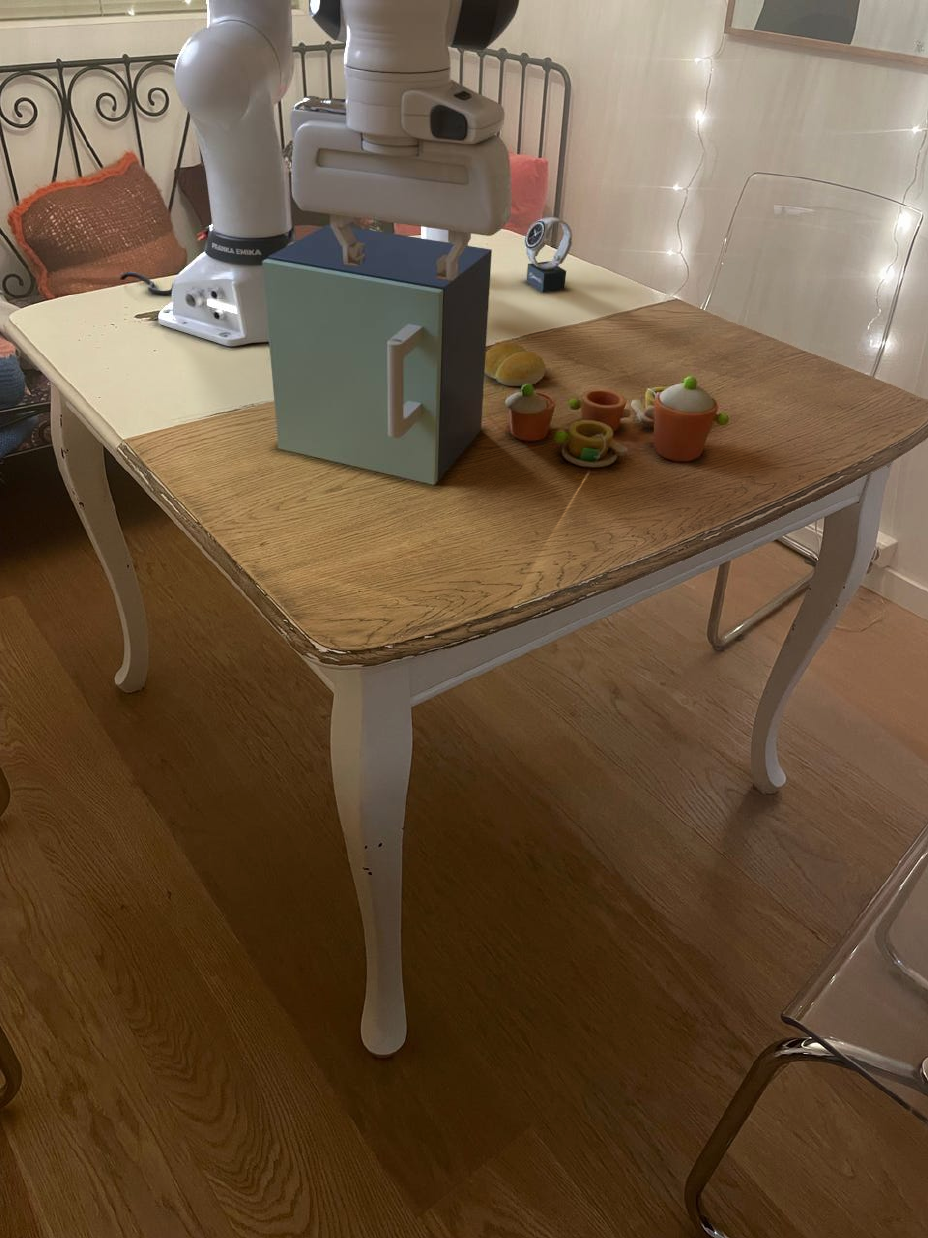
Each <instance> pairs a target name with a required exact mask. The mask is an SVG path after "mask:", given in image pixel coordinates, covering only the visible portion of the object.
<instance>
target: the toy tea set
mask: <svg viewBox="0 0 928 1238" xmlns="http://www.w3.org/2000/svg"><path fill="white" fill-rule="evenodd" d="M644 395H645V398H644V401H645V403H644V404H643V402H642V401H641V400H639V399H632V400H631V403H630V406H631V408H632V409H633V410H634V411H635V412H636V416H637V418H638V420H639V421H640V422H641V423H643V424H644V425H646V426H648V427H651V428H653V449H654V451H655V453H656V454H657V455H659V456H660V457H662V458H664V459H666V460H669V461H673V462H691V461H694V460H696V459H697V458H699V457H700V456H701V454H702V452H703V450H704V447H705V444H706V442H707V439H708V437H709V434H710V432H711V429H712V426H713V424H714V422H716V424H717V425H718V426H722V427H723V426H725V425H728V423H729V421H730V416H729V415H728V414H727V413H726V412H720V413H718V410H719V405H718V401H717V400H716V399H715V398H714V397H712V396H711V394H710V393H709V392H708V391H707V390H706V389H705V388H703V387H701V386H700V385H698V382H697V379H696V378H695V377H694V376H687V377H686V378H685V379H684V380H683V382H680V383H676V384H674V385H671V386H654V387H651V388H646V391H645V394H644ZM504 403H505V406H506V407H507V409H508V412H509V425H510V433H511V434H512V436H513V437H514V438H516V439H518V440H521V441H525V442H537V441H540V440H543V439H545V438H546V437H547V436H548V433H549V430H550V426H551V422H552V419H553V416H554V412H555V407H556V404H557V402H556V399H555V398H554V397H553V396H552V395H550V394H547V393H545V392H541V391H538V390H537V391H536V390H535V387H534V386H533V384H532V385H531V384H524V385H523V386H521V388H520V391H517V392H514V393H512V394H510V396H508V397H507V398H506V400H505V402H504ZM626 404H627V398H626V397H625V395H624V394H622V393H620V392H618V391H615V390H611V389H606V388H594V389H593V388H591V389H588V390H585V391H583V392H582V394H581V396H580V399H579V398H578V397H573V398H571V399H570V400H569V402H568V407H569V409H571V410H572V411H577V410H580V409H581V419H580V420H577V421H574V422H572V423H570V424H569V426H568V427H567V432H566V430H561V429H560V430H557V431H556V432H555V433H554V441H555V442H556V443H557V444H562V447H561V455H562V457H563V458H565V460H566V461H568V463H569V462H570V463H571V464H574V465H576V466H580V467H585V468H602V467H606V466H610V465H611V464H613V463H614V462H615V461H616V460H617V458H618V457H622V456H626V455H627V450H628V449H627V447H626V446H624V445H623V444H620V443H619V442H617V441H615V440H613V437H614V432H617V430H618V429H619V427H620V423H621V419H625V418H630V417H631V414H632V413H631V410H630V409H625V408H626Z"/></svg>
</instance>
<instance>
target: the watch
mask: <svg viewBox="0 0 928 1238" xmlns="http://www.w3.org/2000/svg"><path fill="white" fill-rule="evenodd" d="M555 223H559V224H560V225H561V226H562V229H563V237H562V239H561V241H560V243H559V244H558V245H559V246H558V248H557V249H556V251H555V253H554V255H553V259H551V260H550V261H549V260H547V261H540V262H538V261H537V259H536V258H537V256H538V255H539V253H540V251H541V250H543V248H545V246H546V245H547V244H549V242H550V241H549V240H550V236H551V231H552V229H553V227H554V225H555ZM572 241H573V232H572V229H571V227H570V225H569V224H568V223H567V222H566V221H563V220H562V219H560V218H558V217H555V216H546V217H544V218H541V219H538V220H536V221H535V222H533V223H531V225H530V227H528V230H527V231H526V233H525V236H524V246H525V252H526V256H527V258H528V260H529V262H531V263H527V268H526V269H527V270H526V280H525V281H526V284H529V285H530V286H532V287H533V288H535V289H536V290H537V291H538V290H539V292H541V293H549V292H556V291H557V292H558V291H563V290H565V286H566V277H567V270H565V269H564V268H563V267H560V265H563V262H564V261H565V259H566V258H567V256H568V255H569V253H570V250H571V247H572V244H573V242H572Z"/></svg>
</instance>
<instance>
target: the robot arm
mask: <svg viewBox="0 0 928 1238" xmlns="http://www.w3.org/2000/svg"><path fill="white" fill-rule="evenodd" d="M206 4H207V26H206V27H204V28H201V29H199V30H197V31H196V32H194V33H193V34H192V35H191V36H190V37H189V38H188V40H187V41H186V43H185V44H184V45H183V47H182V48H181V51H180V53H179V54H178V56H177V59H176V61H175V65H174V74H173V76H174V79H173V80H174V85H175V90H176V93H177V96H178V98H179V100H180V102H181V104H182V105H183V107H184V108H185V110H186V111H187V112H188V113H189V117H190V120H191V121H190V122H191V123H192V128H193V131H194V133H195V137H196V140H197V143H198V146H199V151H200V153H201V157H202V161H203V166H204V170H205V176H206V177H205V178H206V183H207V192H208V201H209V208H210V215H211V216H210V217H211V225H209V226H207V227H205V228H204V230H203V231H199V232H198V233H196V236H199V237H198V238H197V242H198V243H200V242H203V241H206V242H205V245H204V250H203V252H202V253H201V254H200V255H199V256H197V257H196V258H195V259H194V260H193V261H192V262H190V263H189V264H188V265H187V266H186V267H184V269H182V270H180V272H179V273H178V274H177V275H176V276H175V277H174V279H173V282H172V285H171V288H170V289H168V290H161V289H156V288H155V286H156V285H155V283H154V282H153V281H152V280H150V279H149V278H147V277H146V276H144V275H142V274H140V273H137V272H134V271H133V272H132V271H126V272H124V273H122V274H121V275H120V276H119V280H121V281H123V280H126V279H127V278H128V277H131V278H135V279H138V280H140V281H142V282H143V283H146V284H147V285H148V287H147V289H148V292H150V293H151V294H155V295H157V296H171V302H170V303H169V304H168V305H166V306H165V307H164V308H163V309H161V310H160V311H159V314H158V317H157V319H158V321H157V323H158V324H159V325H161V326H164V327H167V328H171V329H173V330H176V331H179V332H182V333H186V334H189V335H190V336H191V335H192V336H195V337H198V338H200V339H204V340H206V341H207V340H208V341H210V342H214V343H216V344H220V345H222V346H226V347H237V346H243V345H248V344H254V343H269V335H268V324H267V312H266V301H265V289H264V278H263V266H262V261H264V260H266V259H268V256H270V255H272V254H274V253H276V252H278V251H280V250H281V249H283V248H285V247H287V246H289V245H291V244H293V243H295V242H296V241H297V236H296V235H297V234H296V227H295V225H293V222H292V220H293V219H292V206H291V205H292V204H291V196H292V199H293V201H294V203H295V204H296V205H297V207H298V208H299V210H301V211H306V212H312V213H313V212H314V213H320V214H326V215H327V214H328V215H329V224H330V227H331V228H332V230H333V232H334V234H335V235H336V237H337V239H338V241H339V243H340V244H341V246H343V262H344V264H345V265H352V266H360V265H361V264H363V263H364V262H365V254H364V251H365V243H360V242H357V240H356V238H355V236H354V234H353V232H352V230H351V228H350V227H351V225H350V224H351V223H353V222H354V218H357V219H363V220H370V221H378V222H385V223H391V224H392V223H393V224H400V225H406V226H413V227H420V228H421V227H428V228H435V229H442V230H448V242H449V243H454V245H453V247H452V249H451V251H450V253H449V254H448V255H443V256H442V257H441V258H439V259H438V260H437V266H436V268H437V269H438V271H437V273H436V276H437V278H438V279H443V280H449V281H453V280H454V279H455V278H456V277H457V274H458V258H459V257H460V255H461V254H462V252H463V250H464V249H465V247H466V245H467V244H468V245H469V242H470V241H471V239H472V235H479V236H486V237H490V236H494V235H495V234H497V233H498V232H499V231H501V230H502V229H503V228H504V227H505V226H506V225H507V223H508V222H509V220H510V218H511V215H512V195H513V194H512V170H511V160H510V159H511V158H510V154H509V150H508V147H507V145H506V144H505V142H504V140H503V139H502V138H500V137H499V135H497V133H499V132H500V131H501V130H502V129H503V127H504V126H505V125H504V124H505V117H506V116H505V108H504V107H503V105H502V104H500V103H499V102H497V101H495V100H493V99H491V98H489V97H487V96H485V95H482V94H481V93H479V92H476V91H475V90H472V89H471V88H469V87H466V86H464V85H462V84H459V83H460V82H458V81H455V80H453V79H451V78H452V77H451V73H452V61H451V55H450V51H449V47H450V48H451V49H463V50H473V51H485V49H487V48H488V47H489V46H491V45H492V44H493V43H494V42H495V41H496V40H498V38H499V37H500V36H501V35H502V34H503V33H504V32H505V31H506V29H507V28H508V27H509V25H510V24H511V23H512V21H513V20H514V18H515V16H516V13H517V12H518V8H519V5H520V0H308V14H309V16H310V17H311V18H312V20H313V21H314V22H315V23H316V24H317V25H318V27H319V28H320V29H321V30H322V31H323V32H324V33H325V34H326V35H327V36H328V37H330V38H331V39H332V40H333V41H335V42H336V41H338V42H339V43H343V44H346V45H345V51H344V57H343V72H344V73H343V74H344V75H343V77H344V95H345V97H344V98H335V97H333V98H332V97H331V98H324V97H319V96H317V95H307V96H304V97H303V98H302V100H300V101H298V102H296V103H295V105H294V106H293V107H292V108H291V111H290V114H289V124H290V136H291V140H292V142H293V144H292V154H291V188H290V174H289V167H288V163H287V162H286V160H285V159H284V158H285V157H284V156H283V151H282V148H281V144H280V140H279V136H278V132H277V128H276V122H275V112H274V110H275V105H277V104H278V103H279V102H280V101H281V100H282V99H283V98H284V97H285V96H286V94H287V93H288V90H289V88H290V85H291V83H292V81H293V76H294V70H295V56H294V51H293V13H292V12H293V11H292V0H206ZM457 82H458V83H457ZM301 107H303V108H301ZM290 189H291V191H290Z"/></svg>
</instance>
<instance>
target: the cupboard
mask: <svg viewBox="0 0 928 1238" xmlns="http://www.w3.org/2000/svg"><path fill="white" fill-rule="evenodd" d="M350 228H351V230H352V232H353V234H354V236H355V238H356V240H357V242H360V243H365V251H364V254H365V262H364V263H363V264H361V265H360V266H352V265H345V264H344V262H343V246H341V244H340V243H339V241H338V239H337V237H336V235H335V234H334V232H333V230H332V228H331V227H330V223H329V224H327V225H325V226H323V227H321V228H319V229H317V230H315V231H314V232H311V233H310V234H307V235H306V236H304V237H302V238H300V239H298V240H296V242H295V243H293V244H291V245H289V246H287V247H285V248H283V249H281V250H280V251H278V252H276V253H274V254H272V255H270V256H268V259H271V260H276V261H282V262H288V263H294V264H299V265H305V266H311V267H316V268H322V269H328V270H334V271H339V272H345V273H351V274H356V275H362V276H368V277H373V278H379V279H385V280H391V281H396V282H402V283H408V284H413V285H419V286H425V287H430V288H436V289H442V290H443V314H442V348H441V382H440V415H439V449H438V481H440V480H441V479H442V477H443V476H444V475H445V474H446V473H447V471H448V470H449V469H450V468H451V467H452V465H454V463H455V462H456V461H457V460H458V458H459V457H460V456H461V455H462V454H463V452H464V451H465V450H467V447H468V446H469V445H470V444H471V443H472V442H473V441H474V439H475V438H476V437H477V436H478V435H479V433H481V431H482V420H483V405H484V390H485V389H484V386H485V373H484V372H485V356H486V352H487V336H488V319H489V306H490V305H489V303H490V286H491V270H492V254H493V253H492V252H493V249H491V248H483V247H478V246H471V245H468V246H466V247H465V249H464V250H463V252H462V254H461V255H460V257H459V258H458V274H457V277H456V278H455V279H454V280H453V281H449V280H443V279H438V278H437V276H436V273H437V271H438V269H437V268H436V266H437V260H438V259H439V258H441V257H442V256H443V255H448V254H449V253H450V251H451V249H452V247H453V245H454V243H447V242H441V241H435V240H429V239H423V238H421V237H416V236H410V235H403V234H397V233H390V232H385V231H378V230H372V229H365V228H360V227H354V226H350ZM438 481H437V482H438Z"/></svg>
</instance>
